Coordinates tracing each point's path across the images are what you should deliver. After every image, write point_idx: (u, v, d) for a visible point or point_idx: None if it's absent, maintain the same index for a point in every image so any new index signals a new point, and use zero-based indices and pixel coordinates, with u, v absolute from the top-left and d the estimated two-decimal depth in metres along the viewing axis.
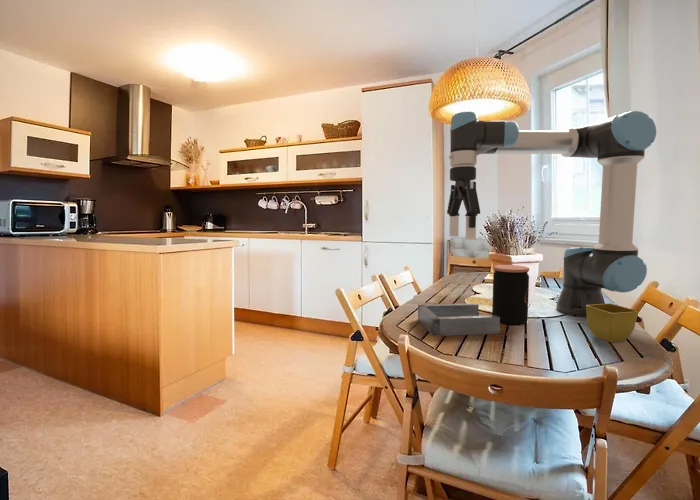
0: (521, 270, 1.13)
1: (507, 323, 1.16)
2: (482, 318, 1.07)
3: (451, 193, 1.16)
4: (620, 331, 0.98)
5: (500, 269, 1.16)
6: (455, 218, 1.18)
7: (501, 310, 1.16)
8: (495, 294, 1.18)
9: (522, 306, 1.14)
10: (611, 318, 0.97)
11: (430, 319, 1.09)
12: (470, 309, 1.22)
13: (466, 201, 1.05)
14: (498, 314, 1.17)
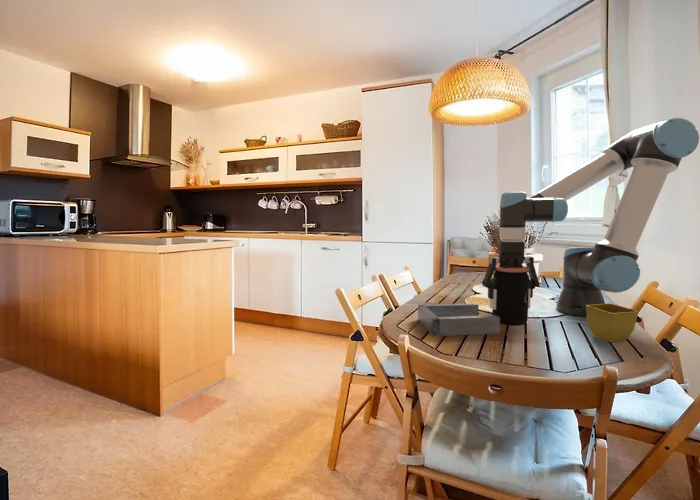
0: (521, 270, 1.13)
1: (507, 323, 1.16)
2: (482, 318, 1.07)
3: None
4: (620, 331, 0.98)
5: (500, 269, 1.16)
6: None
7: (501, 309, 1.16)
8: None
9: (522, 306, 1.14)
10: (611, 318, 0.97)
11: (430, 319, 1.09)
12: (470, 309, 1.22)
13: None
14: (499, 314, 1.17)
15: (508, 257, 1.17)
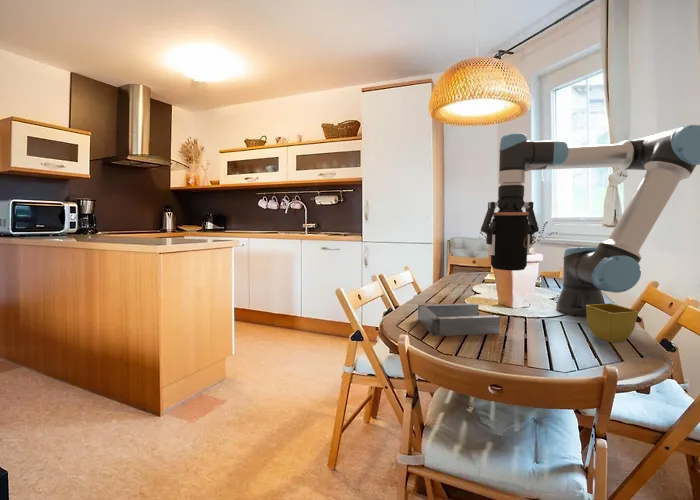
0: (520, 213, 1.11)
1: (506, 268, 1.14)
2: (482, 318, 1.07)
3: (526, 210, 1.18)
4: (620, 331, 0.98)
5: (499, 213, 1.14)
6: None
7: (499, 254, 1.14)
8: None
9: (521, 250, 1.12)
10: (611, 318, 0.97)
11: (430, 319, 1.09)
12: (470, 309, 1.22)
13: None
14: (497, 259, 1.15)
15: (507, 201, 1.15)
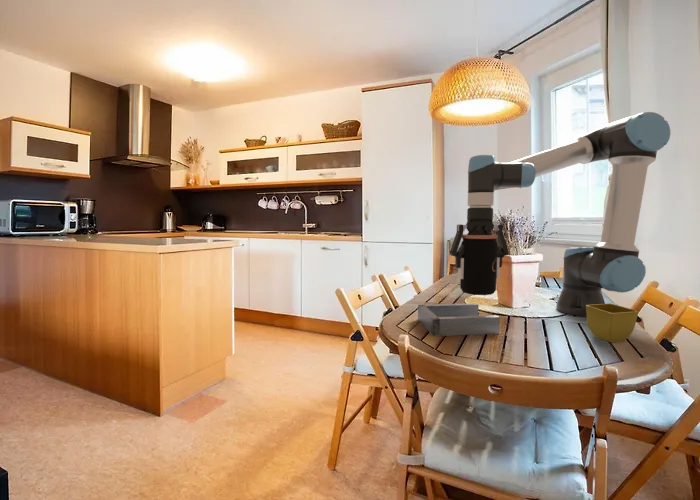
0: (488, 236, 1.08)
1: (474, 292, 1.11)
2: (482, 318, 1.07)
3: None
4: (620, 331, 0.98)
5: (467, 236, 1.11)
6: None
7: (468, 278, 1.11)
8: None
9: (489, 274, 1.10)
10: (611, 318, 0.97)
11: (430, 319, 1.09)
12: (470, 309, 1.22)
13: None
14: (466, 283, 1.12)
15: (476, 224, 1.12)
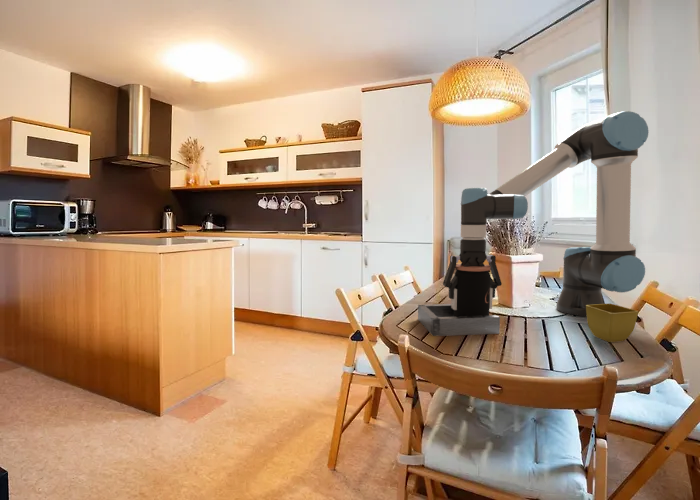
0: (481, 269, 1.09)
1: None
2: (482, 318, 1.07)
3: (489, 263, 1.16)
4: (620, 331, 0.98)
5: (460, 268, 1.12)
6: None
7: (461, 310, 1.12)
8: None
9: (482, 306, 1.10)
10: (611, 318, 0.97)
11: (430, 319, 1.09)
12: None
13: None
14: (459, 314, 1.13)
15: (469, 255, 1.13)
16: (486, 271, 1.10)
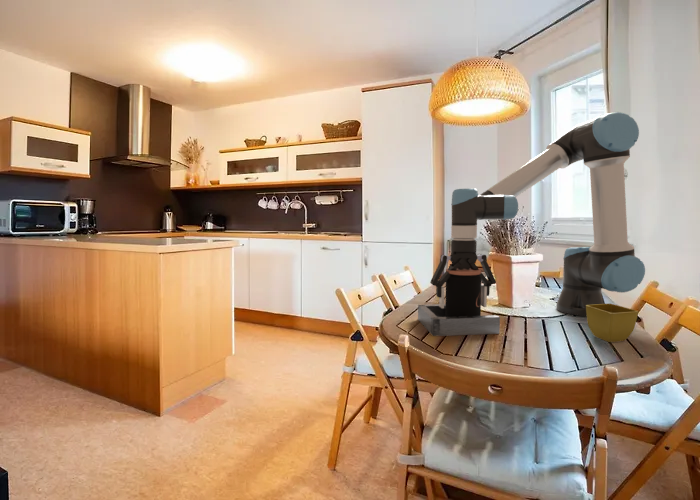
0: (472, 273, 1.09)
1: None
2: (482, 318, 1.07)
3: (481, 262, 1.16)
4: (620, 331, 0.98)
5: (451, 272, 1.12)
6: (483, 288, 1.15)
7: (452, 314, 1.12)
8: (447, 298, 1.14)
9: (473, 310, 1.10)
10: (611, 318, 0.97)
11: (430, 319, 1.09)
12: None
13: (445, 272, 1.15)
14: None
15: (460, 257, 1.12)
16: (477, 275, 1.10)
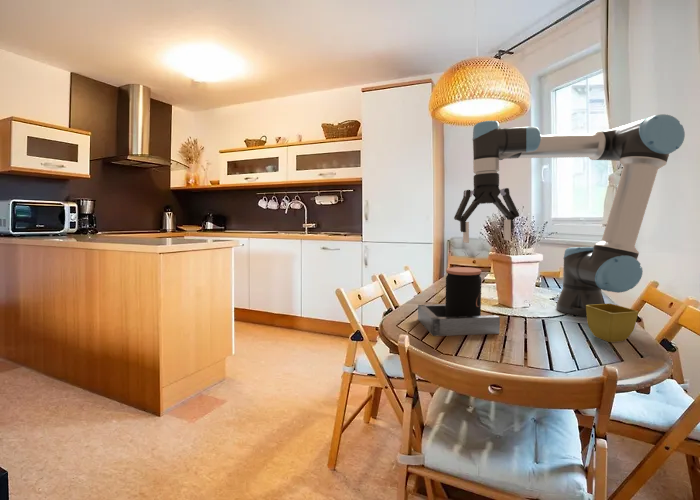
0: (472, 273, 1.09)
1: None
2: (482, 318, 1.07)
3: (503, 197, 1.17)
4: (620, 331, 0.98)
5: (451, 272, 1.12)
6: (506, 222, 1.16)
7: (452, 314, 1.12)
8: (447, 297, 1.14)
9: (473, 310, 1.10)
10: (611, 318, 0.97)
11: (430, 319, 1.09)
12: None
13: None
14: None
15: (483, 191, 1.13)
16: (477, 275, 1.10)
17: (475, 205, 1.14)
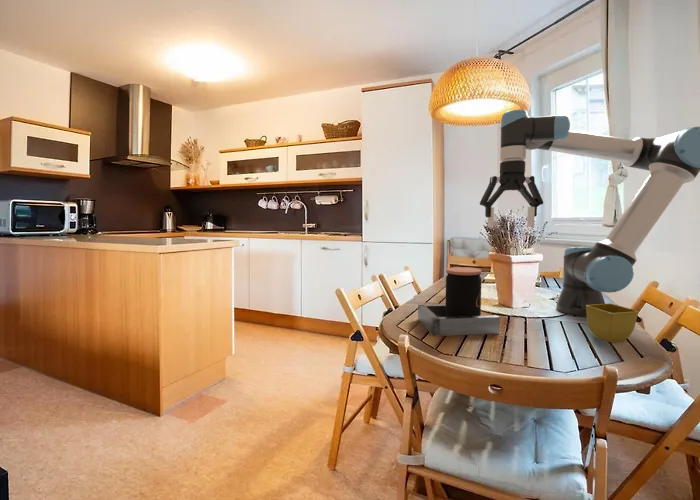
0: (472, 273, 1.09)
1: None
2: (482, 318, 1.07)
3: (528, 184, 1.20)
4: (620, 331, 0.98)
5: (451, 272, 1.12)
6: (530, 209, 1.20)
7: (452, 314, 1.12)
8: (447, 297, 1.14)
9: (473, 310, 1.10)
10: (611, 318, 0.97)
11: (430, 319, 1.09)
12: None
13: (494, 194, 1.19)
14: None
15: (509, 178, 1.17)
16: (477, 275, 1.10)
17: (501, 191, 1.17)
